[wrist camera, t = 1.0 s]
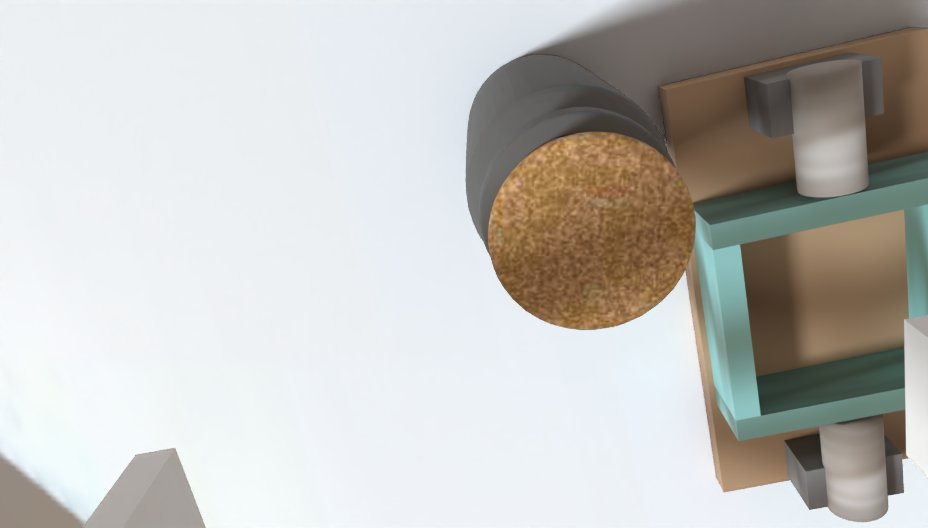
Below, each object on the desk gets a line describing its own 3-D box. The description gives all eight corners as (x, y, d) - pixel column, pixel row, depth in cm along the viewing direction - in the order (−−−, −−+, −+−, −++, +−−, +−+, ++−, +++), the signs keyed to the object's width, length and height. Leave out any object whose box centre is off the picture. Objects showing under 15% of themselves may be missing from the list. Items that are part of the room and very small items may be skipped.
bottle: (449, 170, 32) (430, 312, 18) (495, 32, 30) (514, 68, 16) (579, 213, 33) (661, 383, 18) (632, 80, 31) (768, 156, 17)
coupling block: (658, 86, 31) (690, 102, 26) (913, 26, 30) (991, 33, 25) (716, 477, 37) (749, 544, 32) (928, 437, 36) (994, 500, 32)
